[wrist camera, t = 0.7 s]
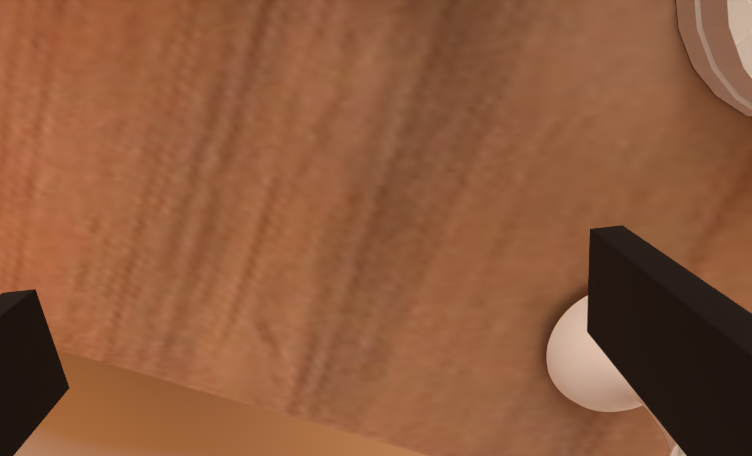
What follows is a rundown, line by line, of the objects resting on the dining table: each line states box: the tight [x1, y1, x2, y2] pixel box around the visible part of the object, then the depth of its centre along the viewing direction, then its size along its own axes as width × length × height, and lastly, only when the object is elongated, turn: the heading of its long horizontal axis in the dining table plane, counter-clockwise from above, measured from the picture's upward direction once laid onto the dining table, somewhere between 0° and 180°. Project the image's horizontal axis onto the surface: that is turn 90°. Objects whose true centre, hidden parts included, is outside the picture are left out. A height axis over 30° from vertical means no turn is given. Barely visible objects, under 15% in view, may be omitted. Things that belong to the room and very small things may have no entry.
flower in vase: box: [546, 295, 686, 456], centre depth 33 cm, size 13×11×25 cm
